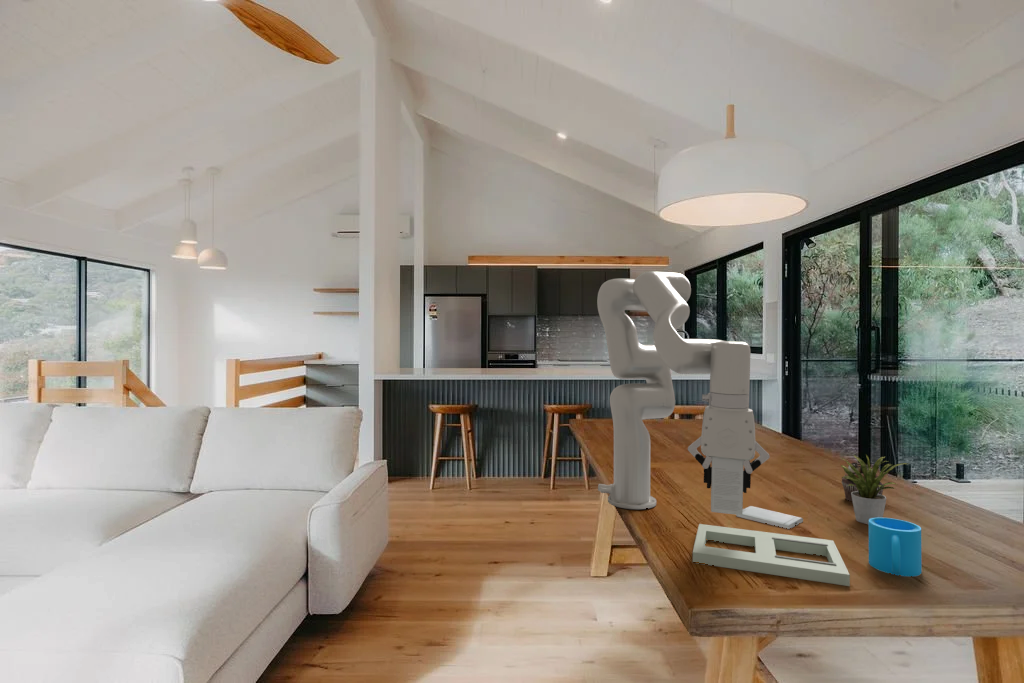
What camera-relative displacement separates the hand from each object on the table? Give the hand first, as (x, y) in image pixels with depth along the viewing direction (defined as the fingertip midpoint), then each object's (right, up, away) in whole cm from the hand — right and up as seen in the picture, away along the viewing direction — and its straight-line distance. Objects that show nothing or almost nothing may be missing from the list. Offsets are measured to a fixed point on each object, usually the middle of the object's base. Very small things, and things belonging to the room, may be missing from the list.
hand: (726, 488), depth 111 cm
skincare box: (0, -5, 0) cm, 5 cm away
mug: (+27, -13, -10) cm, 32 cm away
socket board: (+6, -13, -3) cm, 15 cm away
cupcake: (+51, -13, +35) cm, 63 cm away
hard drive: (+18, -14, +20) cm, 30 cm away
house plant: (+43, -13, +18) cm, 48 cm away
